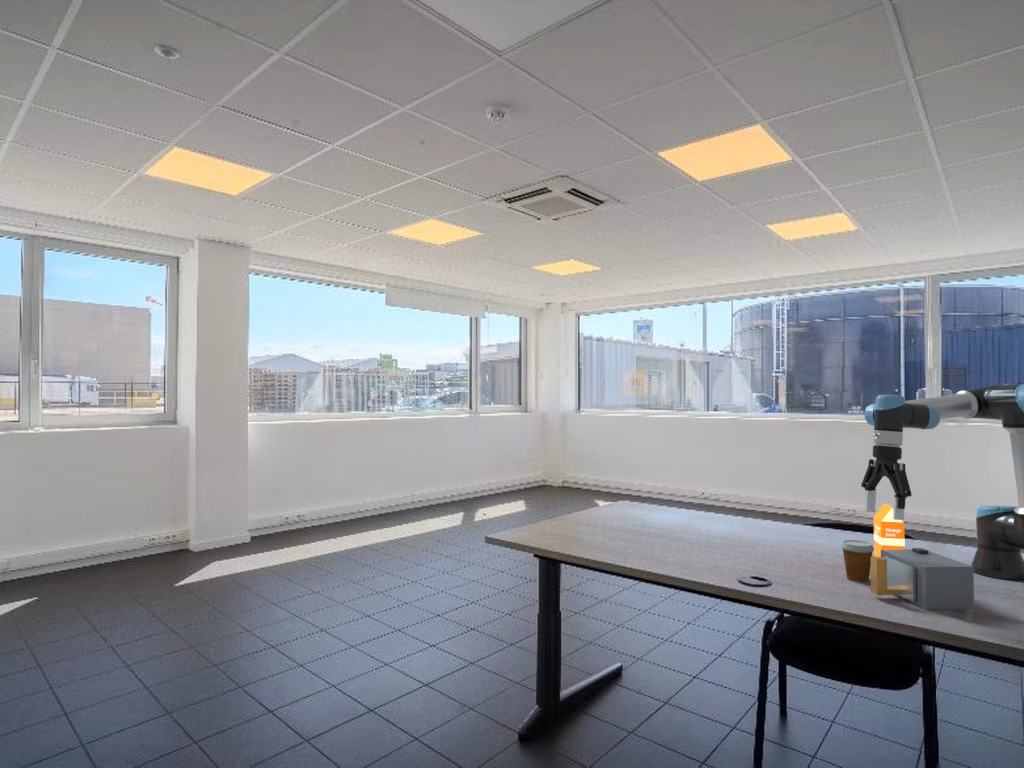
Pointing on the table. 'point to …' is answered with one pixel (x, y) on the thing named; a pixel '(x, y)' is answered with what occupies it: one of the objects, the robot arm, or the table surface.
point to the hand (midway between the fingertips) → (883, 515)
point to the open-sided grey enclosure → (938, 579)
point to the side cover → (893, 578)
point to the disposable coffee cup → (857, 559)
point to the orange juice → (887, 531)
